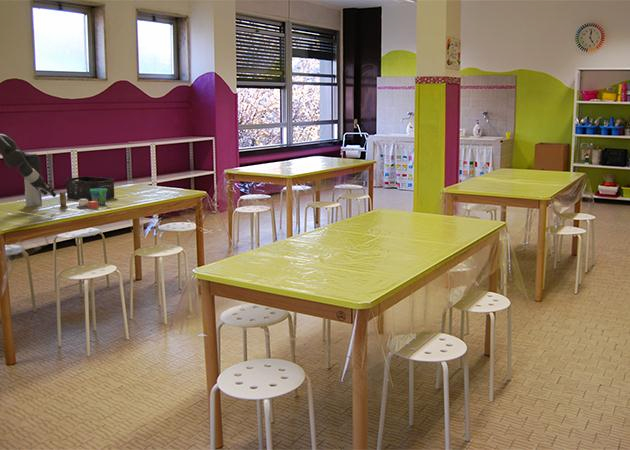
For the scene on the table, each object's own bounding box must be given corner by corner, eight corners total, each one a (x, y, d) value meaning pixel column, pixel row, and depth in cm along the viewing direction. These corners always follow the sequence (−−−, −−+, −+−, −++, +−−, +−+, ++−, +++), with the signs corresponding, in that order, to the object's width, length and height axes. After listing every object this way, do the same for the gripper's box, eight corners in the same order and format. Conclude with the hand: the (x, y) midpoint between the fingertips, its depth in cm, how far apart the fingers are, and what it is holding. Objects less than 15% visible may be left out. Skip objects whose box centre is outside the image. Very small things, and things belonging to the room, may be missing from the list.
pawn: (58, 208, 413) (56, 192, 411) (64, 207, 417) (63, 191, 415) (62, 209, 410) (61, 193, 408) (69, 208, 414) (67, 192, 412)
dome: (76, 205, 416) (76, 199, 415) (84, 204, 420) (84, 198, 420) (82, 206, 413) (82, 200, 412) (90, 204, 417) (89, 199, 417)
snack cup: (109, 206, 427) (108, 190, 425) (92, 207, 422) (91, 191, 420) (106, 202, 441) (105, 187, 438) (89, 203, 436) (88, 188, 434)
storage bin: (117, 197, 461) (115, 178, 458) (96, 201, 444) (94, 181, 441) (86, 194, 473) (85, 175, 471) (64, 198, 457) (63, 179, 454)
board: (57, 210, 412) (56, 202, 411) (79, 206, 425) (78, 198, 424) (77, 213, 402) (76, 205, 401) (99, 209, 415) (98, 201, 414)
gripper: (22, 180, 396) (39, 198, 408) (36, 183, 388) (54, 201, 400) (29, 171, 399) (47, 188, 411) (44, 174, 392) (61, 191, 403)
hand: (50, 195), depth 406 cm, fingers open, 8 cm apart
